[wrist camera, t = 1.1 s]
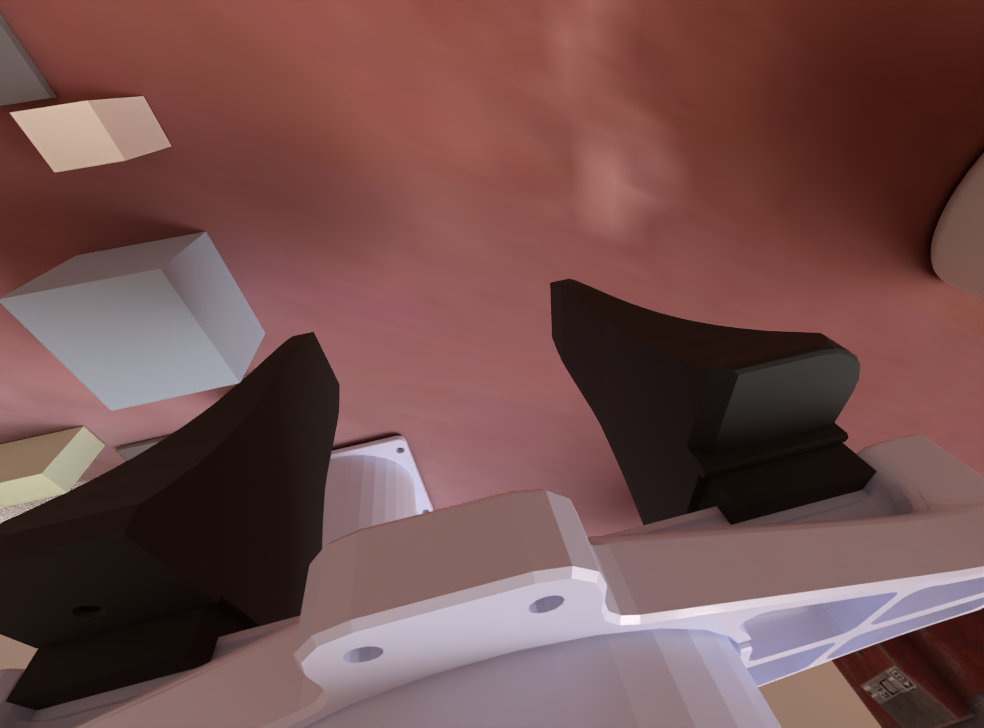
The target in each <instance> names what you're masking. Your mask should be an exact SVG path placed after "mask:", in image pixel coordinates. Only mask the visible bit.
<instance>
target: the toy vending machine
mask: <svg viewBox="0 0 984 728" xmlns="http://www.w3.org/2000/svg"><path fill="white" fill-rule="evenodd" d="M832 661H833V663H834V664H835V665H836V667H837V668H838V669H839V671H840V672H841V673H842V675H843V676H844V677H845V679H846V680H847V682H848V683H849V684H850V686H851V687H852V688H853V690H854V691H855V692H856V694H857V695H858V696H859V698H860V699H861V700H862V702H863V703H864V704H865V706H866V707H867V708H868V710H869V711H870V712H871V714H872V715H873V716H874V718H875V719H876V720H877V722H878V723H879V724H880V726H881V727H882V728H984V608H982V609H980V610H977V611H974V612H971V613H968V614H964V615H961V616H958V617H955V618H952V619H949V620H945V621H942V622H939V623H936V624H933V625H930V626H927V627H924V628H921V629H918V630H915V631H912V632H909V633H906V634H903V635H900V636H897V637H894V638H891V639H889V640H886V641H883V642H880V643H877V644H875V645H872V646H869V647H866V648H863V649H861V650H858V651H855V652H852V653H850V654H847V655H844V656H841V657H839V658H836V659H833V660H832Z"/></svg>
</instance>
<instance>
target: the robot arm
mask: <svg viewBox="0 0 984 728" xmlns="http://www.w3.org/2000/svg"><path fill="white" fill-rule="evenodd" d="M550 288H551V316H552V338H553V341H554V343H555V346H556V348H557V351H558V353H559V355H560V357H561V360H562V362H563V364H564V365H565V367H566V369H567V370H568V372H569V373H570V375H571V377H572V378H573V380H574V382H575V383H576V385H577V386H578V388H579V390H580V391H581V393H582V394H583V396H584V398H585V399H586V401H587V402H588V404H589V406H590V407H591V409H592V411H593V412H594V414H595V416H596V418H597V419H598V421H599V423H600V425H601V427H602V429H603V431H604V433H605V436H606V438H607V440H608V442H609V444H610V446H611V448H612V451H613V453H614V455H615V457H616V460H617V462H618V464H619V466H620V469H621V471H622V473H623V475H624V478H625V480H626V483H627V485H628V487H629V490H630V492H631V495H632V497H633V500H634V502H635V504H636V507H637V509H638V512H639V514H640V517H641V520H642V522H643V526H639V527H635V528H632V529H628V530H624V531H620V532H616V533H613V534H609V535H605V536H594V537H587V535H586V533H585V530H584V528H583V525H582V523H581V521H580V518H579V516H578V513H577V512H576V510H575V508H574V506H573V504H572V502H571V500H570V499H569V498H566V497H563V496H561V495H558V494H555V493H552V492H549V491H546V490H542V489H535V490H523V491H512V492H507V493H503V494H499V495H495V496H491V497H487V498H483V499H479V500H475V501H471V502H467V503H463V504H459V505H455V506H451V507H447V508H443V509H439V510H435V511H434V510H433V507H432V505H431V502H430V500H429V497H428V495H427V492H426V490H425V487H424V484H423V482H422V479H421V477H420V474H419V472H418V469H417V467H416V464H415V462H414V459H413V457H412V454H411V451H410V449H409V446H408V444H407V441H406V439H405V438H404V437H402V436H393V437H389V438H385V439H380V440H376V441H372V442H368V443H363V444H359V445H355V446H350V447H346V448H342V449H338V450H333V451H332V447H333V442H334V437H335V431H336V426H337V420H338V414H339V383H338V381H337V379H336V377H335V375H334V373H333V370H332V368H331V366H330V364H329V362H328V360H327V358H326V356H325V354H324V352H323V350H322V348H321V346H320V344H319V342H318V340H317V338H316V336H315V334H314V332H311V333H306V334H302V335H297V336H292V337H291V338H290V339H288V340H287V341H286V342H284V343H283V344H282V345H281V346H280V347H279V348H277V349H276V350H275V351H274V352H273V353H272V354H271V355H270V356H269V357H268V358H266V359H265V360H264V361H263V362H262V363H261V364H260V365H259V366H258V367H257V368H256V369H254V370H253V371H252V372H251V373H250V374H249V375H248V376H247V377H246V378H244V379H243V380H242V381H241V382H240V383H239V384H237V385H236V386H235V387H234V388H233V389H232V390H230V391H229V392H228V393H227V394H226V395H224V396H223V397H222V398H221V399H220V400H218V401H217V402H216V403H215V404H213V405H212V406H211V407H210V408H208V409H207V410H206V411H204V412H203V413H202V414H200V415H199V416H197V417H196V418H195V419H193V420H192V421H190V422H189V423H187V424H186V425H185V426H183V427H182V428H180V429H179V430H177V431H176V432H174V433H172V434H171V435H169V436H168V437H166V438H164V439H163V440H161V441H160V442H158V443H156V444H155V445H153V446H152V447H150V448H148V449H147V450H145V451H144V452H142V453H140V454H139V455H137V456H135V457H133V458H132V459H130V460H128V461H126V462H125V463H123V464H121V465H119V466H117V467H116V468H114V469H112V470H110V471H108V472H106V473H104V474H102V475H101V476H99V477H97V478H95V479H93V480H91V481H89V482H87V483H85V484H83V485H81V486H79V487H77V488H75V489H73V490H71V491H69V492H67V493H65V494H63V495H61V496H58V497H56V498H54V499H52V500H50V501H48V502H46V503H44V504H41V505H39V506H37V507H35V508H33V509H31V510H29V511H26V512H24V513H22V514H20V515H18V516H16V517H13V518H11V519H9V520H6V521H4V522H3V523H1V524H0V634H1V635H4V636H6V637H9V638H12V639H14V640H17V641H19V642H22V643H24V644H27V645H30V646H32V647H35V648H38V650H37V652H36V653H35V655H34V656H33V658H32V660H31V661H30V663H29V664H28V666H27V668H26V669H4V670H0V728H781V726H780V724H779V723H778V721H777V719H776V718H775V716H774V714H773V713H772V711H771V709H770V708H769V706H768V704H767V702H766V701H765V699H764V697H763V696H762V694H761V692H760V691H759V689H758V687H760V686H762V685H765V684H768V683H771V682H773V681H776V680H779V679H781V678H784V677H787V676H789V675H792V674H795V673H798V672H801V671H803V670H806V669H808V668H811V667H814V666H817V665H819V664H822V663H825V662H828V661H831V660H833V659H836V658H839V657H841V656H844V655H847V654H850V653H852V652H855V651H858V650H861V649H863V648H866V647H869V646H872V645H875V644H877V643H880V642H883V641H886V640H889V639H891V638H894V637H897V636H900V635H903V634H906V633H909V632H912V631H915V630H918V629H921V628H924V627H927V626H930V625H933V624H936V623H939V622H942V621H945V620H949V619H952V618H955V617H958V616H961V615H964V614H968V613H971V612H974V611H977V610H980V609H982V608H984V477H983V476H982V475H980V474H979V473H978V472H976V471H975V470H973V469H972V468H970V467H969V466H967V465H966V464H964V463H963V462H962V461H960V460H959V459H957V458H956V457H954V456H953V455H951V454H950V453H948V452H947V451H946V450H944V449H943V448H941V447H940V446H938V445H937V444H935V443H934V442H932V441H931V440H930V439H928V438H927V437H925V436H924V435H922V434H911V435H907V436H903V437H899V438H896V439H892V440H888V441H884V442H880V443H876V444H873V445H870V446H868V447H866V448H864V449H863V450H861V451H859V452H858V453H857V454H855V453H854V452H853V451H852V450H851V449H849V448H848V447H847V446H846V445H845V444H843V443H842V442H845V441H846V440H847V439H848V435H847V433H846V432H845V431H844V430H843V429H841V428H840V427H839V426H838V425H836V424H835V423H834V422H835V421H836V419H837V417H838V416H839V414H840V412H841V411H842V409H843V407H844V406H845V404H846V402H847V401H848V399H849V397H850V396H851V394H852V393H853V391H854V388H855V386H856V384H857V382H858V380H859V372H860V364H859V361H858V359H857V356H855V355H854V354H853V353H851V352H850V351H848V350H847V349H845V348H844V347H842V346H840V345H839V344H837V343H836V342H834V341H833V340H831V339H829V338H828V337H826V336H825V335H823V334H821V333H804V332H779V331H761V330H751V329H741V328H732V327H725V326H718V325H712V324H706V323H701V322H695V321H690V320H685V319H681V318H677V317H673V316H669V315H665V314H661V313H658V312H655V311H651V310H648V309H645V308H642V307H639V306H637V305H634V304H631V303H628V302H626V301H623V300H620V299H618V298H615V297H613V296H611V295H608V294H606V293H604V292H601V291H599V290H597V289H594V288H592V287H590V286H587V285H585V284H583V283H580V282H578V281H575V280H572V279H566V280H561V281H556V282H552V283H550ZM398 448H401V449H398Z"/></svg>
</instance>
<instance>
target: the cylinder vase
mask: <svg viewBox="0 0 984 728" xmlns="http://www.w3.org/2000/svg"><path fill="white" fill-rule="evenodd" d="M931 262H932V266H933V269H934V271H935V273H936V274H937V276H938V277H939V278H940V279H941V280H942V281H943V282H945V283H946V284H948V285H950V286H952V287H955V288H957V289H960V290H963V291H965V292H968V293H971V294H973V295H976V296H979V297H981V298H984V153H983V154H982V155H981V156H980V158H979V159H978V160H977V161H976V162H975V164H974V165H973V166H972V167H971V169H970V170H969V171H968V172H967V174H966V175H965V177H964V178H963V179H962V181H961V182H960V184H959V185H958V186H957V188H956V190H955V191H954V193H953V194H952V196H951V198H950V199H949V201H948V203H947V204H946V206H945V208H944V210H943V212H942V214H941V216H940V219H939V221H938V223H937V226H936V229H935V232H934V235H933V239H932V244H931Z"/></svg>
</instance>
